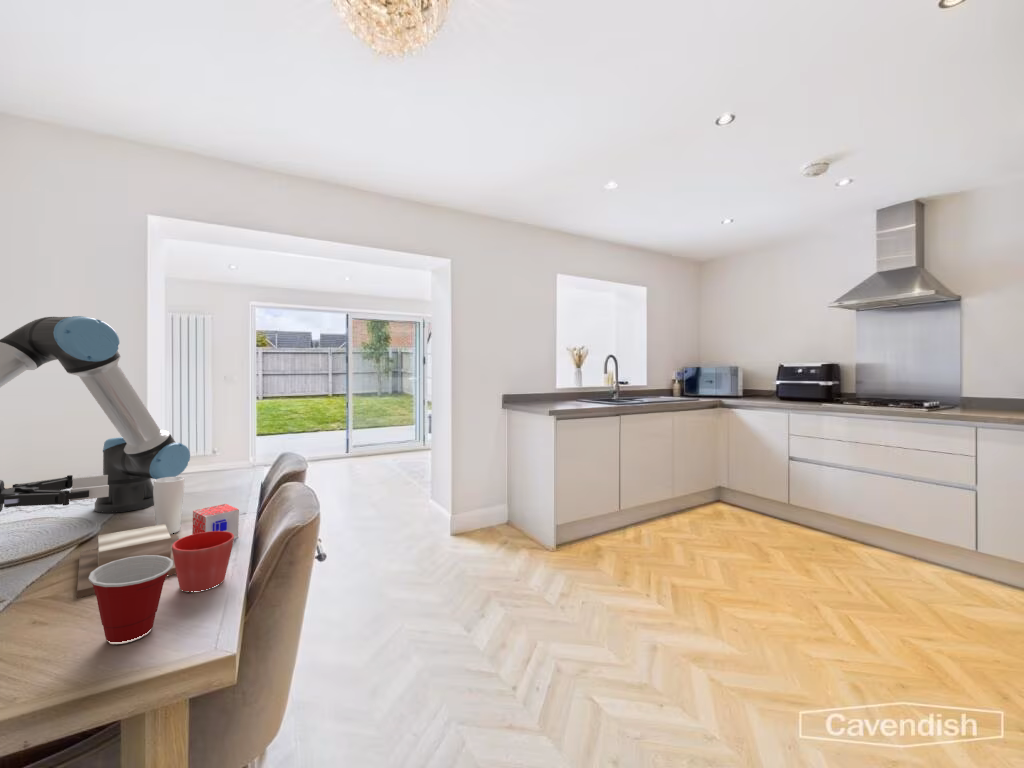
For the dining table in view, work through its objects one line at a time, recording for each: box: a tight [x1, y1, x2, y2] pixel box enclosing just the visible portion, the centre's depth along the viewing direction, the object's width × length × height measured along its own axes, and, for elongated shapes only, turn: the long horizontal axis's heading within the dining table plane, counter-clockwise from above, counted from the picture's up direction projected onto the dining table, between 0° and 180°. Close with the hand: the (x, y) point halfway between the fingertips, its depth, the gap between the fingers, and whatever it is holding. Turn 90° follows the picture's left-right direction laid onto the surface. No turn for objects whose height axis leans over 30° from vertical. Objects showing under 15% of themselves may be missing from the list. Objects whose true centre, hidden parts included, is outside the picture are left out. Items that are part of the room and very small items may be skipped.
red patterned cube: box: [191, 503, 240, 539], centre depth 113 cm, size 8×8×8 cm
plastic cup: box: [89, 555, 173, 642], centre depth 72 cm, size 11×11×12 cm
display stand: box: [76, 524, 180, 599], centre depth 97 cm, size 24×18×6 cm
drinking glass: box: [153, 476, 186, 535], centre depth 116 cm, size 7×7×15 cm
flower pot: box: [172, 531, 235, 592], centre depth 89 cm, size 11×11×10 cm
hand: (108, 485), depth 107 cm, fingers open, 13 cm apart
